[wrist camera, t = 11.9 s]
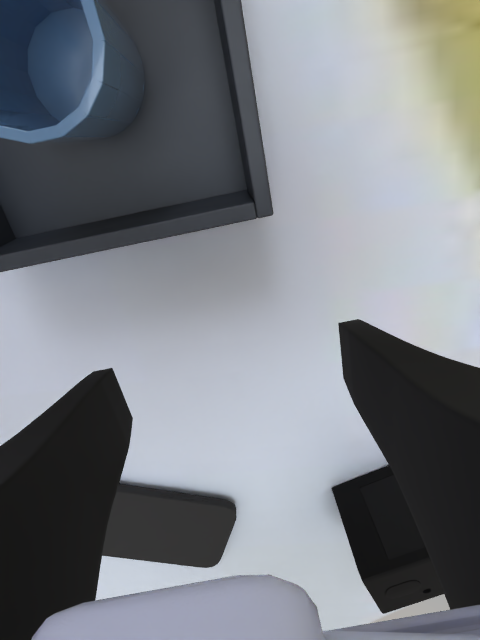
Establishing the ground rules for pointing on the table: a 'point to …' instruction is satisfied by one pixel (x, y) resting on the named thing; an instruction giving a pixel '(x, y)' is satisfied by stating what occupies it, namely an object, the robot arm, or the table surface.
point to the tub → (148, 147)
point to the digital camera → (386, 541)
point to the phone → (168, 527)
